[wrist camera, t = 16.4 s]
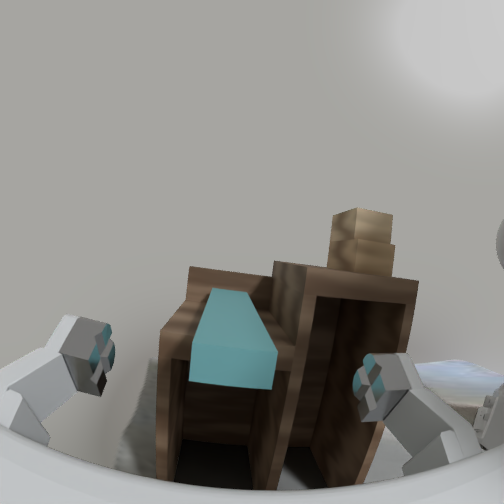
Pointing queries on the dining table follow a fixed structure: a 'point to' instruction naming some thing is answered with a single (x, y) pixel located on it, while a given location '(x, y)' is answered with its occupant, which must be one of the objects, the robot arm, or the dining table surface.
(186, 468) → the dining table surface
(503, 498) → the robot arm
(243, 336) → the slat
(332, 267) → the rack
